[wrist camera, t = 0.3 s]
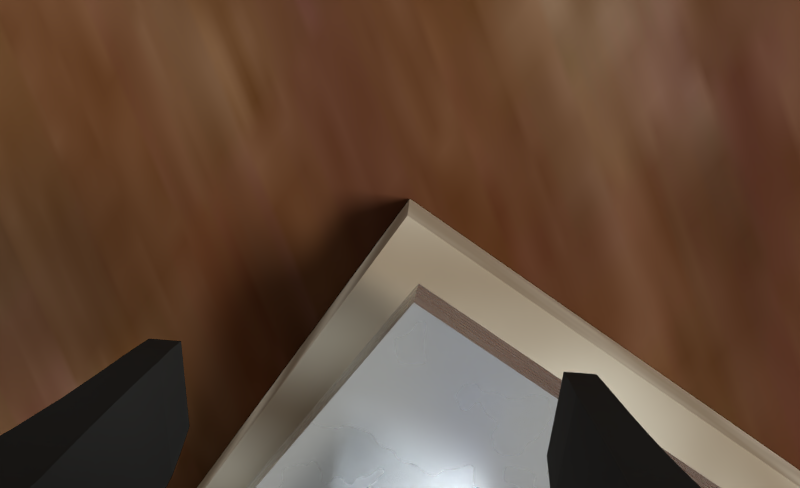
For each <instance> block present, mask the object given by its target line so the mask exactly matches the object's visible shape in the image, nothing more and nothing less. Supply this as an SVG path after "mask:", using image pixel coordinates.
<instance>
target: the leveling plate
mask: <svg viewBox="0 0 800 488" xmlns="http://www.w3.org/2000/svg"><path fill="white" fill-rule="evenodd" d="M561 382H562V380H561V379H559V378H558V377H556V376H555V375H553V374H552V373H551V372H549V371H548V370H546V369H545V368H543V367H542V366H540V365H539V364H537V363H536V362H534V361H533V360H531V359H530V358H528V357H527V356H525V355H524V354H522V353H521V352H519V351H518V350H517V349H515V348H514V347H512V346H511V345H509V344H508V343H506V342H505V341H503V340H502V339H500V338H499V337H497V336H496V335H494V334H493V333H491V332H490V331H488V330H487V329H485V328H484V327H483V326H481V325H480V324H478V323H477V322H475V321H474V320H472V319H471V318H469V317H468V316H466V315H465V314H463V313H462V312H460V311H459V310H457V309H456V308H454V307H453V306H451V305H450V304H449V303H447V302H446V301H444V300H443V299H441V298H440V297H438V296H437V295H435V294H434V293H432V292H431V291H429V290H428V289H426V288H425V287H423V286H422V285H420V284H418V285H417V286H416V287H415V288H414V289H413V291H412V292H411V293H410V294H409V295H408V297H407V298H406V299H405V300H404V301H403V302H402V304H401V305H400V306H399V307H398V308H397V310H396V311H395V312H394V313H393V314H392V315H391V317H390V318H389V319H388V320H387V321H386V323H385V324H384V325H383V326H382V327H381V328H380V330H379V331H378V332H377V333H376V334H375V336H374V337H373V338H372V339H371V340H370V342H369V343H368V344H367V345H366V346H365V347H364V349H363V350H362V351H361V352H360V353H359V355H358V356H357V357H356V358H355V359H354V360H353V362H352V363H351V364H350V365H349V366H348V368H347V369H346V370H345V371H344V372H343V373H342V375H341V376H340V377H339V378H338V379H337V381H336V382H335V383H334V384H333V385H332V386H331V388H330V389H329V390H328V391H327V392H326V394H325V395H324V396H323V397H322V398H321V399H320V401H319V402H318V403H317V404H316V405H315V407H314V408H313V409H312V410H311V411H310V413H309V414H308V415H307V416H306V417H305V418H304V420H303V421H302V422H301V423H300V424H299V426H298V427H297V428H296V429H295V430H294V431H293V433H292V434H291V435H290V436H289V437H288V439H287V440H286V441H285V442H284V443H283V444H282V446H281V447H280V448H279V449H278V450H277V452H276V453H275V454H274V455H273V456H272V457H271V459H270V460H269V461H268V462H267V463H266V465H265V466H264V467H263V468H262V469H261V471H260V472H259V473H258V474H257V475H256V476H255V478H254V479H253V480H252V481H251V482H250V484H249V485H248V486H247V487H246V488H550V483H549V473H548V463H547V452H548V447H549V442H550V437H551V432H552V427H553V422H554V417H555V412H556V407H557V402H558V397H559V392H560V387H561ZM662 449H663V448H662ZM663 450H664V449H663ZM664 451H665V452H666V453H667V454H668V455H669V456H670V457H671V458H672V459H673V460H674V461H675V462H676V464H677V465H678V466H679V467H680V468H681V469H682V470H684V471H685V472H686V473H687V474H688V475H689V476H690V477H691V478H692V479H693V480H694V481H695V482H696V483H697V484H698V485H699V486H700V487H701V488H720V487H719V486H718V485H716V484H715V483H713V482H712V481H710V480H709V479H707V478H706V477H704V476H703V475H701V474H700V473H698V472H697V471H695V470H694V469H692V468H691V467H689V466H688V465H686V464H685V463H684V462H682V461H681V460H679V459H678V458H676V457H675V456H673V455H672V454H670V453H669V452H667V451H666V450H664Z"/></svg>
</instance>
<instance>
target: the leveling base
mask: <svg viewBox="0 0 800 488" xmlns="http://www.w3.org/2000/svg"><path fill="white" fill-rule="evenodd" d="M418 284H420V285H422V286H423V287H425V288H426V289H428V290H429V291H431V292H432V293H434V294H435V295H437V296H438V297H440V298H441V299H443V300H444V301H446V302H447V303H449V304H450V305H451V306H453V307H454V308H456V309H457V310H459V311H460V312H462V313H463V314H465V315H466V316H468V317H469V318H471V319H472V320H474V321H475V322H477V323H478V324H480V325H481V326H483V327H484V328H485V329H487V330H488V331H490V332H491V333H493V334H494V335H496V336H497V337H499V338H500V339H502V340H503V341H505V342H506V343H508V344H509V345H511V346H512V347H514V348H515V349H517V350H518V351H519V352H521V353H522V354H524V355H525V356H527V357H528V358H530V359H531V360H533V361H534V362H536V363H537V364H539V365H540V366H542V367H543V368H545V369H546V370H548V371H549V372H551V373H552V374H553V375H555V376H556V377H558V378H559V379H561V380H562V377H563V372H575V373H587V374H597V375H598V376H599V378H600V379H601V380H602V381H603V382H604V383H605V384H606V386H607V387H608V388H609V389H610V390H611V391H612V393H613V394H614V395H615V396H616V397H617V398H618V400H619V401H620V402H621V403H622V404H623V406H624V407H625V408H626V409H627V410H628V411H629V412H630V414H631V415H632V416H633V417H634V418H635V419H636V420H637V422H638V423H639V424H640V425H641V426H642V427H643V428H644V429H645V431H646V432H647V433H648V434H649V435H650V436H651V437H652V438H653V439H654V440H655V442H656V443H657V444H658V445H659V446H660V447H661V448H663V449H664V450H666V451H667V452H669V453H670V454H672V455H673V456H675V457H676V458H678V459H679V460H681V461H682V462H684V463H685V464H686V465H688V466H689V467H691V468H692V469H694V470H695V471H697V472H698V473H700V474H701V475H703V476H704V477H706V478H707V479H709V480H710V481H712V482H713V483H715V484H716V485H718V486H719V487H720V488H800V471H799V470H798V469H796V468H795V467H794V466H792V465H791V464H789V463H788V462H786V461H785V460H784V459H782V458H781V457H779V456H778V455H776V454H775V453H774V452H772V451H771V450H769V449H768V448H766V447H765V446H763V445H762V444H761V443H759V442H758V441H756V440H755V439H753V438H752V437H751V436H749V435H748V434H746V433H745V432H743V431H742V430H741V429H739V428H738V427H736V426H735V425H733V424H732V423H730V422H729V421H728V420H726V419H725V418H723V417H722V416H720V415H719V414H718V413H716V412H715V411H713V410H712V409H710V408H709V407H708V406H706V405H705V404H703V403H702V402H700V401H699V400H698V399H696V398H695V397H693V396H692V395H690V394H689V393H687V392H686V391H685V390H683V389H682V388H680V387H679V386H677V385H676V384H675V383H673V382H672V381H670V380H669V379H667V378H666V377H665V376H663V375H662V374H660V373H659V372H657V371H656V370H655V369H653V368H652V367H650V366H649V365H647V364H646V363H644V362H643V361H642V360H640V359H639V358H637V357H636V356H634V355H633V354H632V353H630V352H629V351H627V350H626V349H624V348H623V347H622V346H620V345H619V344H617V343H616V342H614V341H613V340H611V339H610V338H609V337H607V336H606V335H604V334H603V333H601V332H600V331H599V330H597V329H596V328H594V327H593V326H591V325H590V324H589V323H587V322H586V321H584V320H583V319H581V318H580V317H579V316H577V315H576V314H574V313H573V312H571V311H570V310H568V309H567V308H566V307H564V306H563V305H561V304H560V303H558V302H557V301H556V300H554V299H553V298H551V297H550V296H548V295H547V294H546V293H544V292H543V291H541V290H540V289H538V288H537V287H535V286H534V285H533V284H531V283H530V282H528V281H527V280H525V279H524V278H523V277H521V276H520V275H518V274H517V273H515V272H514V271H513V270H511V269H510V268H508V267H507V266H505V265H504V264H503V263H501V262H500V261H498V260H497V259H495V258H494V257H492V256H491V255H490V254H488V253H487V252H485V251H484V250H482V249H481V248H480V247H478V246H477V245H475V244H474V243H472V242H471V241H470V240H468V239H467V238H465V237H464V236H462V235H461V234H459V233H458V232H457V231H455V230H454V229H452V228H451V227H449V226H448V225H447V224H445V223H444V222H442V221H441V220H439V219H438V218H437V217H435V216H434V215H432V214H431V213H429V212H428V211H427V210H425V209H424V208H422V207H421V206H419V205H418V204H416V203H415V202H414V201H412V200H411V199H409V200H408V202H407V203H406V205H405V206H404V207H403V209H402V210H401V211H400V213H399V214H398V215H397V217H396V218H395V219H394V221H393V222H392V224H391V225H390V226H389V228H388V229H387V230H386V232H385V233H384V234H383V236H382V237H381V239H380V240H379V241H378V243H377V244H376V245H375V247H374V248H373V249H372V251H371V252H370V253H369V255H368V256H367V258H366V259H365V260H364V262H363V263H362V264H361V266H360V267H359V268H358V270H357V271H356V272H355V274H354V275H353V277H352V278H351V279H350V281H349V282H348V283H347V285H346V286H345V287H344V289H343V290H342V291H341V293H340V294H339V296H338V297H337V298H336V300H335V301H334V302H333V304H332V305H331V306H330V308H329V309H328V310H327V312H326V313H325V315H324V316H323V317H322V319H321V320H320V321H319V323H318V324H317V325H316V327H315V328H314V329H313V331H312V332H311V334H310V335H309V336H308V338H307V339H306V340H305V342H304V343H303V344H302V346H301V347H300V349H299V350H298V351H297V353H296V354H295V355H294V357H293V358H292V359H291V361H290V362H289V363H288V365H287V366H286V368H285V369H284V370H283V372H282V373H281V374H280V376H279V377H278V378H277V380H276V381H275V382H274V384H273V385H272V387H271V388H270V389H269V391H268V392H267V393H266V395H265V396H264V397H263V399H262V400H261V401H260V403H259V404H258V406H257V407H256V408H255V410H254V411H253V412H252V414H251V415H250V416H249V418H248V419H247V420H246V422H245V423H244V425H243V426H242V427H241V429H240V430H239V431H238V433H237V434H236V435H235V437H234V438H233V439H232V441H231V442H230V444H229V445H228V446H227V448H226V449H225V450H224V452H223V453H222V454H221V456H220V457H219V459H218V460H217V461H216V463H215V464H214V465H213V467H212V468H211V469H210V471H209V472H208V473H207V475H206V476H205V478H204V479H203V480H202V482H201V483H200V484H199V486H198V487H197V488H246V487H247V486H248V485H249V484H250V482H251V481H252V480H253V479H254V478H255V476H256V475H257V474H258V473H259V472H260V471H261V469H262V468H263V467H264V466H265V465H266V463H267V462H268V461H269V460H270V459H271V457H272V456H273V455H274V454H275V453H276V452H277V450H278V449H279V448H280V447H281V446H282V444H283V443H284V442H285V441H286V440H287V439H288V437H289V436H290V435H291V434H292V433H293V431H294V430H295V429H296V428H297V427H298V426H299V424H300V423H301V422H302V421H303V420H304V418H305V417H306V416H307V415H308V414H309V413H310V411H311V410H312V409H313V408H314V407H315V405H316V404H317V403H318V402H319V401H320V399H321V398H322V397H323V396H324V395H325V394H326V392H327V391H328V390H329V389H330V388H331V386H332V385H333V384H334V383H335V382H336V381H337V379H338V378H339V377H340V376H341V375H342V373H343V372H344V371H345V370H346V369H347V368H348V366H349V365H350V364H351V363H352V362H353V360H354V359H355V358H356V357H357V356H358V355H359V353H360V352H361V351H362V350H363V349H364V347H365V346H366V345H367V344H368V343H369V342H370V340H371V339H372V338H373V337H374V336H375V334H376V333H377V332H378V331H379V330H380V328H381V327H382V326H383V325H384V324H385V323H386V321H387V320H388V319H389V318H390V317H391V315H392V314H393V313H394V312H395V311H396V310H397V308H398V307H399V306H400V305H401V304H402V302H403V301H404V300H405V299H406V298H407V297H408V295H409V294H410V293H411V292H412V291H413V289H414V288H415V287H416V286H417V285H418Z"/></svg>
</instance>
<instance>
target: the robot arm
mask: <svg viewBox="0 0 800 488" xmlns="http://www.w3.org/2000/svg"><path fill="white" fill-rule="evenodd" d="M188 429H189V418H188V408H187V397H186V387H185V377H184V367H183V357H182V347H181V341H171V340H158V339H148V340H146V341H145V342H143V343H142V344H140V345H139V346H137V347H136V348H134V349H133V350H131V351H130V352H128V353H127V354H125V355H124V356H122V357H121V358H120V359H118V360H117V361H115V362H114V363H112V364H111V365H110V366H108V367H107V368H105V369H104V370H102V371H101V372H99V373H98V374H97V375H95V376H94V377H92V378H91V379H89V380H88V381H86V382H85V383H83V384H82V385H80V386H79V387H77V388H76V389H75V390H73V391H72V392H70V393H69V394H67V395H66V396H64V397H63V398H61V399H60V400H58V401H56V402H55V403H53V404H51V405H50V406H48V407H47V408H45V409H43V410H42V411H40V412H39V413H37V414H35V415H34V416H32V417H31V418H29V419H27V420H26V421H24V422H22V423H21V424H19V425H18V426H16V427H14V428H13V429H11V430H9V431H8V432H6V433H4V434H2V435H1V436H0V488H166V487H167V485H168V483H169V481H170V479H171V477H172V474H173V472H174V469H175V466H176V464H177V461H178V458H179V456H180V453H181V450H182V447H183V444H184V441H185V438H186V435H187V432H188ZM547 463H548V473H549V483H550V488H701V487H700V486H699V485H698V484H697V483H696V482H695V481H694V480H693V479H692V478H691V477H690V476H689V475H688V474H687V473H686V472H685V471H684V470H682V469H681V468H680V467H679V466H678V465H677V464H676V462H675V461H674V460H673V459H672V458H671V457H670V456H669V455H668V454H667V453H666V452H665V451H664V450H663V449H662V448H661V447H660V446H659V445H658V444H657V443H656V442H655V440H654V439H653V438H652V437H651V436H650V435H649V434H648V433H647V432H646V431H645V429H644V428H643V427H642V426H641V425H640V424H639V423H638V422H637V420H636V419H635V418H634V417H633V416H632V415H631V414H630V412H629V411H628V410H627V409H626V408H625V407H624V406H623V404H622V403H621V402H620V401H619V400H618V398H617V397H616V396H615V395H614V394H613V393H612V391H611V390H610V389H609V388H608V387H607V386H606V384H605V383H604V382H603V381H602V380H601V379H600V378H599V376H598V375H597V374H587V373H575V372H563V377H562V382H561V387H560V392H559V397H558V402H557V407H556V412H555V417H554V422H553V427H552V432H551V437H550V442H549V447H548V452H547Z"/></svg>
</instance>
